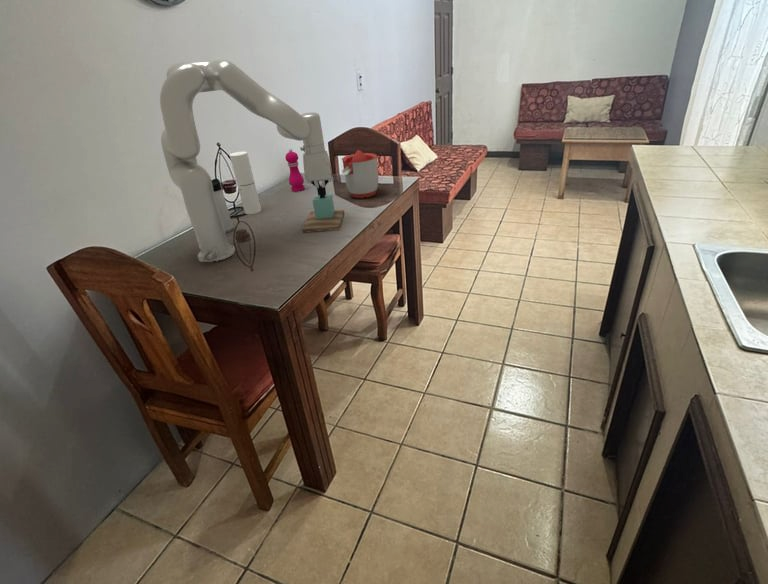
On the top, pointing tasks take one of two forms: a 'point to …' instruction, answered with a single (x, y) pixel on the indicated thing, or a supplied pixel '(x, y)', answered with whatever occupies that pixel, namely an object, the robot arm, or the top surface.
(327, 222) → the board
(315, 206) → the mint green cube
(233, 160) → the cylindrical container
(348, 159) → the citrus juicer
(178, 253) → the top surface
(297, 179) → the pepper mill
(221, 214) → the travel mug
